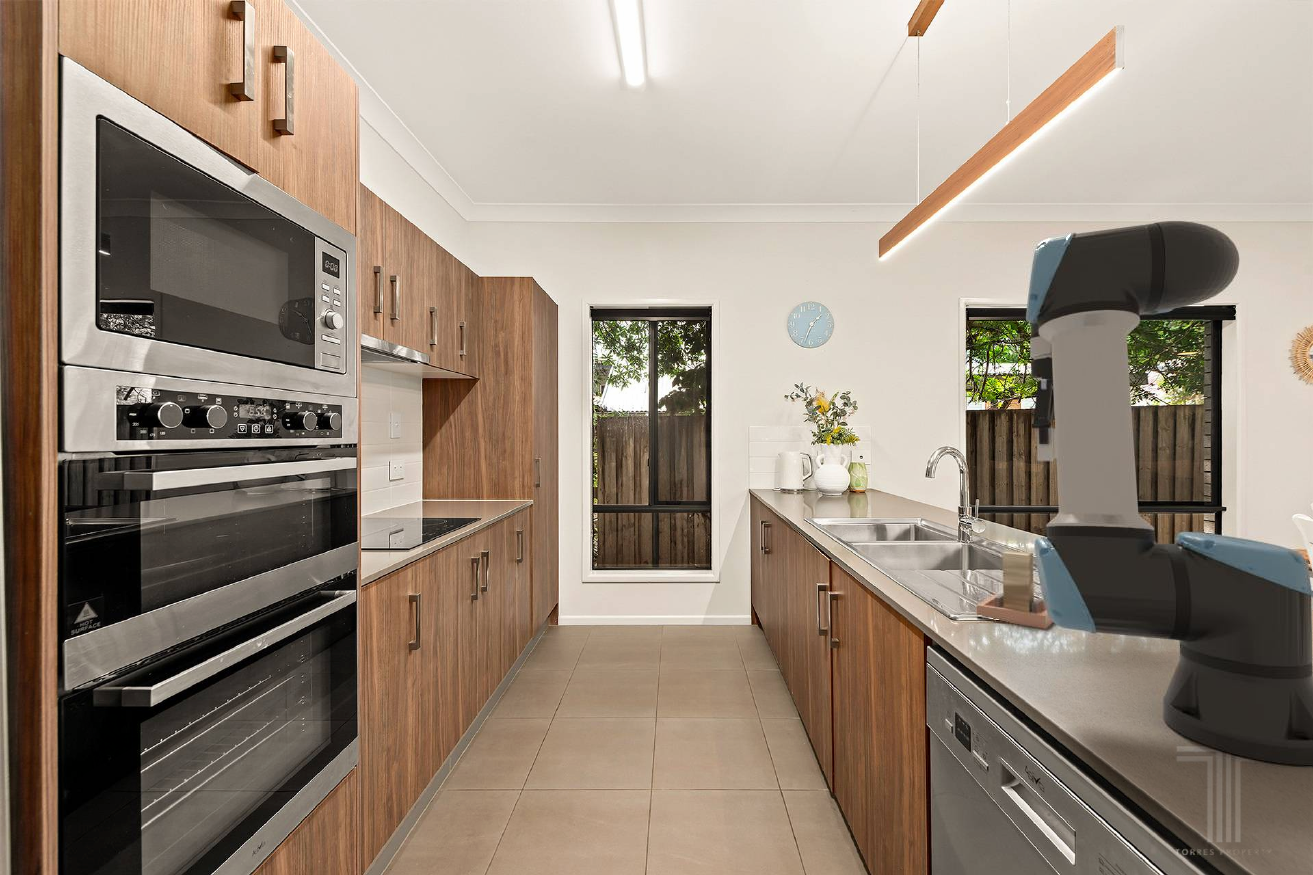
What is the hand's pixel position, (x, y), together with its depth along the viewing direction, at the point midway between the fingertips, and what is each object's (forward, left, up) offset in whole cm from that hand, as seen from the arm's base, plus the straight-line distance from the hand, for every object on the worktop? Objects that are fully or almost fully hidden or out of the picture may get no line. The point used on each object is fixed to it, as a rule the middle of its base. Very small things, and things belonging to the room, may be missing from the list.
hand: (1054, 460), depth 133 cm
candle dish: (-12, +4, -31) cm, 33 cm away
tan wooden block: (-12, +4, -30) cm, 33 cm away
